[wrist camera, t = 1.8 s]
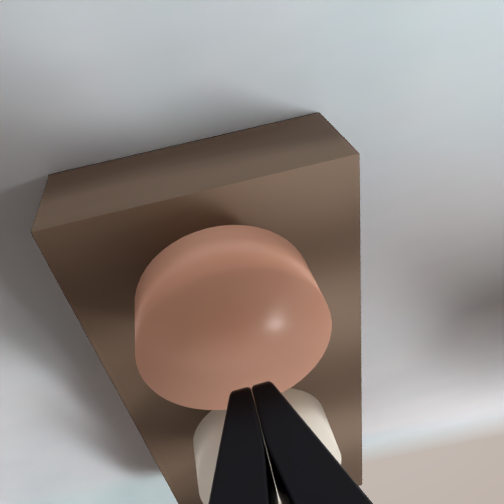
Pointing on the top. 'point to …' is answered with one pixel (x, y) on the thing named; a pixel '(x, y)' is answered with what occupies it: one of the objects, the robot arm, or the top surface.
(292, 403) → the button cream
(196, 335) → the button terracotta
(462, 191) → the top surface
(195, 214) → the console
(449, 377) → the top surface
